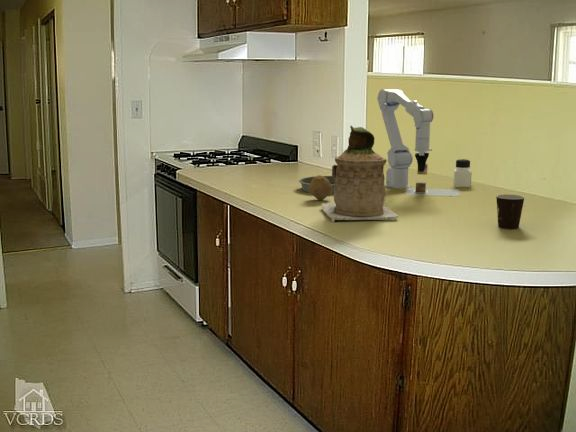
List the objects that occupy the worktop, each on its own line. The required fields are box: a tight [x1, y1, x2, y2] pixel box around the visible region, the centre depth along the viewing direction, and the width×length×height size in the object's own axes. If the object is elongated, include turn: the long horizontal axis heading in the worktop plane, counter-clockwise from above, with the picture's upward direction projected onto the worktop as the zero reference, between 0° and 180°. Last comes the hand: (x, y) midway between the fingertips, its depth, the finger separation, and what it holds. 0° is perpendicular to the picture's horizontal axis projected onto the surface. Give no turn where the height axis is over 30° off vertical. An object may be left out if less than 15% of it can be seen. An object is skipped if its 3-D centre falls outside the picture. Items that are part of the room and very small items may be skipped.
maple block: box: [417, 163, 429, 176], centre depth 271 cm, size 4×4×4 cm
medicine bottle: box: [453, 158, 472, 188], centre depth 286 cm, size 7×7×12 cm
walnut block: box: [415, 181, 427, 193], centre depth 272 cm, size 4×4×4 cm
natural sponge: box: [309, 174, 332, 201], centre depth 258 cm, size 9×9×10 cm
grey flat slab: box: [405, 187, 461, 197], centre depth 272 cm, size 22×16×1 cm
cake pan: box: [298, 175, 335, 195], centre depth 283 cm, size 25×25×4 cm
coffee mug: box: [495, 193, 525, 230], centre depth 208 cm, size 12×9×10 cm
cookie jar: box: [321, 125, 399, 223], centre depth 229 cm, size 25×25×32 cm
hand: (421, 170), depth 271 cm, fingers closed on maple block, 4 cm apart
